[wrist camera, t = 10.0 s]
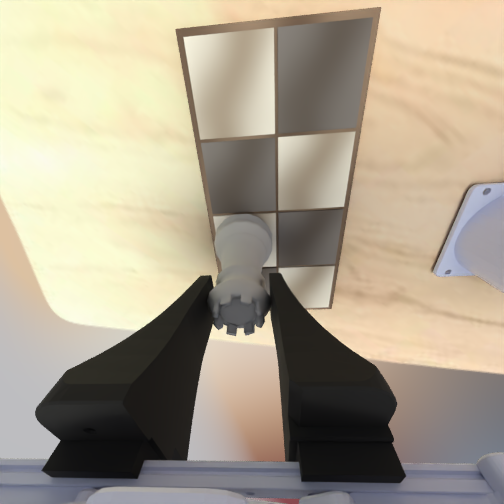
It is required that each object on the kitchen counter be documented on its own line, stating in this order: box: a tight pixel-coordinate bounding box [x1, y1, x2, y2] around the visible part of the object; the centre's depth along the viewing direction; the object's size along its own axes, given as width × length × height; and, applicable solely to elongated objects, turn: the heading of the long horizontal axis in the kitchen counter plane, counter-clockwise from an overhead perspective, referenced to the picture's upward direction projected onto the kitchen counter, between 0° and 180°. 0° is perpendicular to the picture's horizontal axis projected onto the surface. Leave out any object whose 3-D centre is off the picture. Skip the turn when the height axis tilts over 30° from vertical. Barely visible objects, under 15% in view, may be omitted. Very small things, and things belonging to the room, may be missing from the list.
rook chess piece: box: [207, 214, 272, 336], centre depth 13 cm, size 4×4×8 cm
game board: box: [176, 7, 381, 311], centre depth 16 cm, size 11×21×1 cm, turn 4°
